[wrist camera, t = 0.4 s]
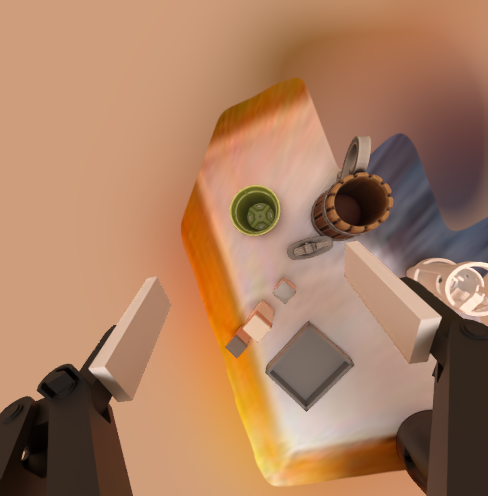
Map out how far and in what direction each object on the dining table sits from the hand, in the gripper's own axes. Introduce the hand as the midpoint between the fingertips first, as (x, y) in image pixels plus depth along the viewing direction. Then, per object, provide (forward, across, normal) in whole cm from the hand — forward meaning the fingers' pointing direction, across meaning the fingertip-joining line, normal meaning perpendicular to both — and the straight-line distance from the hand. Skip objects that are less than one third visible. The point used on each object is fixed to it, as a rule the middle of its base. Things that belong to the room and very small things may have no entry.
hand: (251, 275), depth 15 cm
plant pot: (+33, -2, +8) cm, 34 cm away
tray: (+16, -6, +36) cm, 41 cm away
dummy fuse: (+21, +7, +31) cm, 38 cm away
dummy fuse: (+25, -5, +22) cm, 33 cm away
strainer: (+21, -30, +21) cm, 42 cm away
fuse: (+23, +1, +26) cm, 35 cm away
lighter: (+28, -11, +15) cm, 33 cm away
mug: (+31, -18, +8) cm, 37 cm away
